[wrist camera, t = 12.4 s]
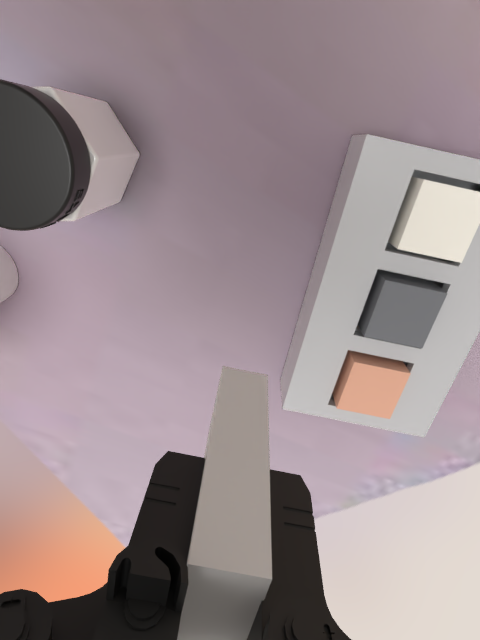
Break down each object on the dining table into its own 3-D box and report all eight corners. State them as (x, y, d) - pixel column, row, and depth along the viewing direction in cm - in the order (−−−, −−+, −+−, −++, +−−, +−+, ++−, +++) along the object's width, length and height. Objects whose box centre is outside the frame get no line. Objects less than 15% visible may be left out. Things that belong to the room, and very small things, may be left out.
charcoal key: (375, 268, 33) (385, 280, 30) (432, 280, 33) (447, 293, 30) (356, 321, 35) (363, 336, 32) (409, 332, 35) (422, 348, 32)
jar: (47, 204, 35) (-50, 232, 24) (26, 101, 32) (-98, 78, 21) (145, 204, 35) (91, 233, 24) (134, 99, 31) (66, 76, 20)
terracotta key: (347, 345, 36) (354, 362, 33) (399, 356, 36) (410, 373, 33) (331, 389, 38) (336, 408, 35) (380, 399, 38) (389, 419, 35)
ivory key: (409, 176, 30) (423, 179, 27) (471, 190, 30) (493, 194, 27) (385, 239, 32) (397, 249, 29) (444, 252, 32) (461, 262, 29)
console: (351, 135, 31) (366, 134, 27) (517, 172, 32) (559, 177, 27) (280, 379, 41) (282, 409, 37) (406, 405, 42) (424, 437, 37)
